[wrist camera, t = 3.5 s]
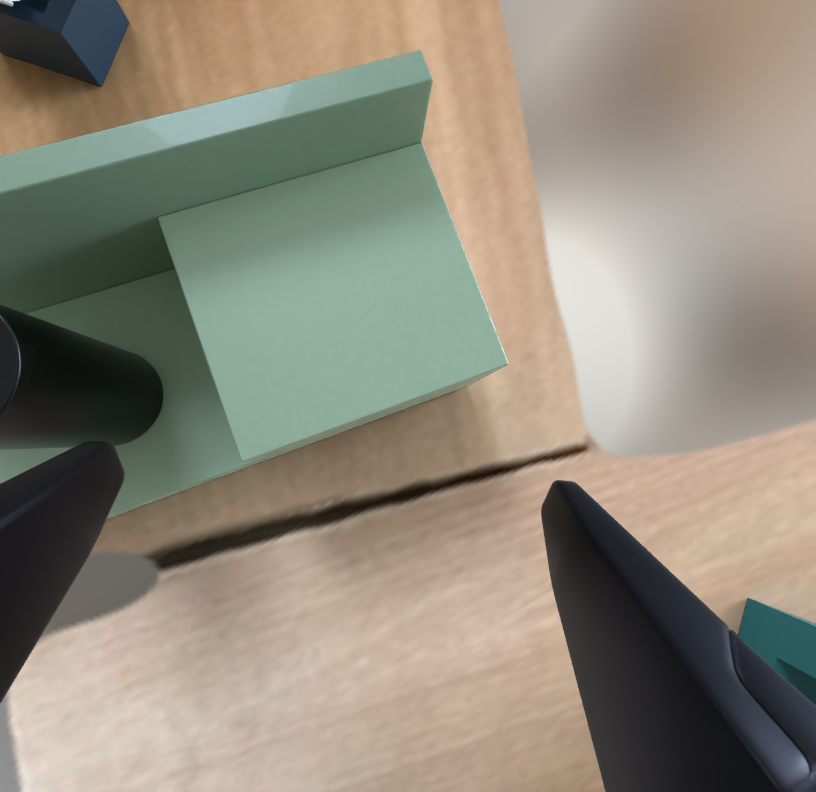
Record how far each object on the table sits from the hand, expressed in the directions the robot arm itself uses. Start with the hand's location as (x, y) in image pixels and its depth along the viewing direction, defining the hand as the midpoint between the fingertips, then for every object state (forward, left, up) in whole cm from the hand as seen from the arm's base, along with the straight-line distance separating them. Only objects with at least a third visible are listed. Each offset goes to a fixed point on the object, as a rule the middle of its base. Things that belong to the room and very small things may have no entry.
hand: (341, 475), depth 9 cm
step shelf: (0, +7, -14) cm, 16 cm away
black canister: (-5, +10, -11) cm, 16 cm away
